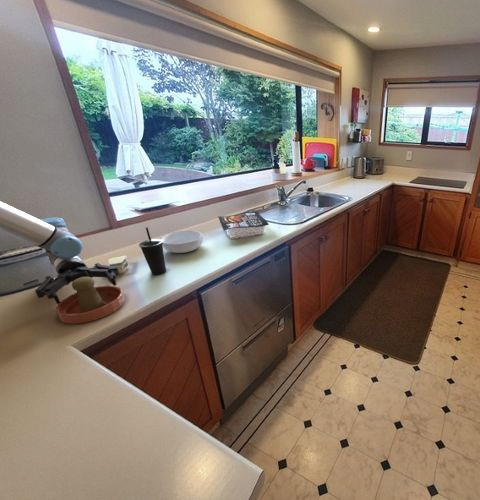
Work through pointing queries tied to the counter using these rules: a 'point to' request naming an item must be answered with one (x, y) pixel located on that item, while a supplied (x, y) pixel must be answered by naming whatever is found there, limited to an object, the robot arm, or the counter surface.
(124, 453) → the counter surface
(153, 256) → the drinking cup
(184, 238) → the cereal bowl
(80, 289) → the cork
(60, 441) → the counter surface
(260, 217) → the food packaging
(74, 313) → the dish
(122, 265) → the sandwich
